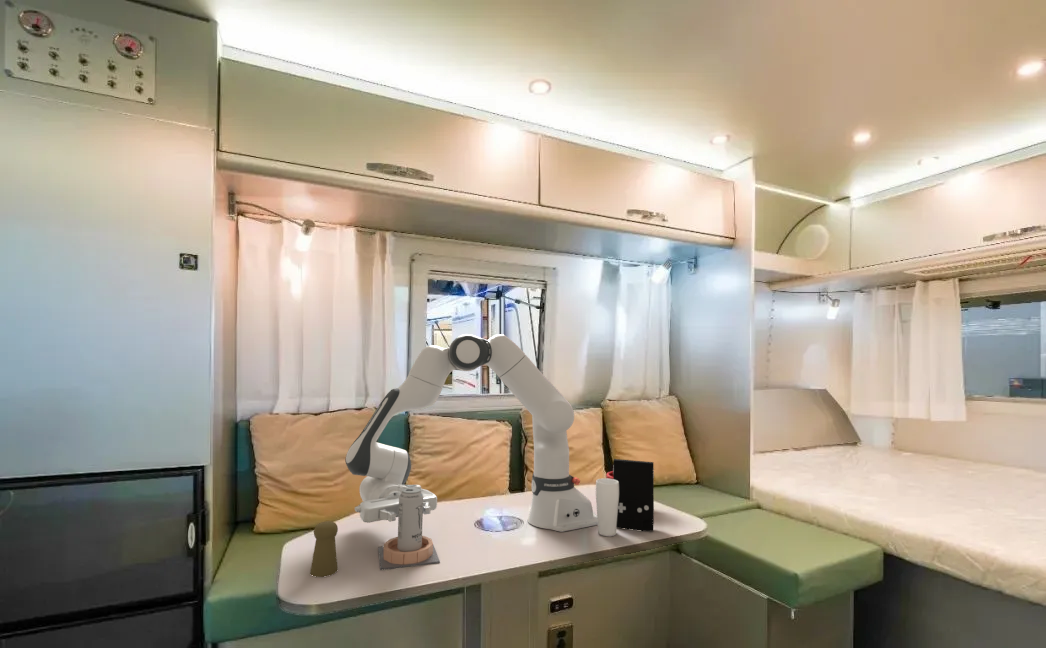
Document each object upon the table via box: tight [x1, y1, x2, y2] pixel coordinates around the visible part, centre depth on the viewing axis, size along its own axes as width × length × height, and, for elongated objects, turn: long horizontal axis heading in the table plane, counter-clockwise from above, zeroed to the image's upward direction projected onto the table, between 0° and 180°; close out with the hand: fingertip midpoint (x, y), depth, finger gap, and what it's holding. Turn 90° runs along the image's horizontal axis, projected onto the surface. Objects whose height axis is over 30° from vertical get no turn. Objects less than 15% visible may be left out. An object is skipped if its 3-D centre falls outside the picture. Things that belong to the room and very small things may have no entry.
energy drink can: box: [397, 487, 424, 552], centre depth 122 cm, size 6×6×15 cm
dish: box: [377, 535, 441, 571], centre depth 121 cm, size 14×13×3 cm
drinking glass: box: [595, 477, 619, 537], centre depth 139 cm, size 7×7×15 cm
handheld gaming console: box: [612, 458, 655, 532], centre depth 145 cm, size 12×5×20 cm, turn 72°
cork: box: [309, 521, 339, 578], centre depth 112 cm, size 6×6×11 cm
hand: (411, 514), depth 121 cm, fingers open, 8 cm apart
